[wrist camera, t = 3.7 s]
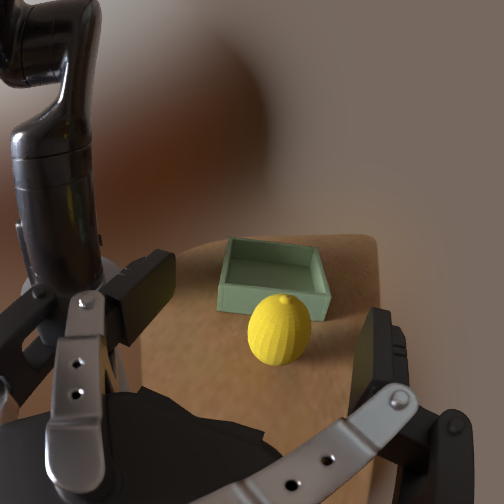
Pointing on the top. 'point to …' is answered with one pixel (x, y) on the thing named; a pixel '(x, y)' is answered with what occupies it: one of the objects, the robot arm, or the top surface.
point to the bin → (271, 276)
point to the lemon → (279, 329)
